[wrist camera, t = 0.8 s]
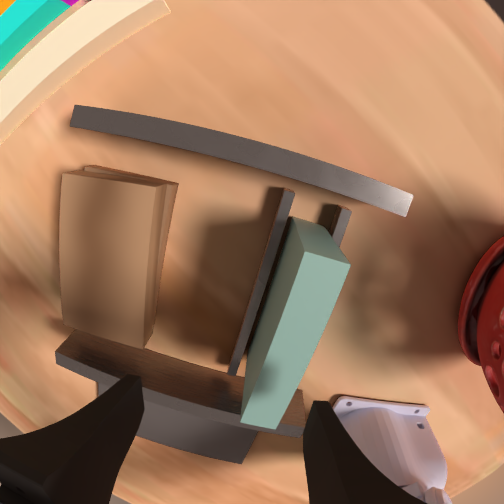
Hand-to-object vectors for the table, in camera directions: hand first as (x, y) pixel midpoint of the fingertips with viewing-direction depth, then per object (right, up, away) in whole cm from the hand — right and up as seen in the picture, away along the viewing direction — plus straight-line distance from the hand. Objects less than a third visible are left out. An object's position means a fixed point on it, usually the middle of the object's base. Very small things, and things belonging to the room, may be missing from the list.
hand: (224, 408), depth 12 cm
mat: (-5, -8, +13) cm, 16 cm away
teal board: (+3, +4, +9) cm, 10 cm away
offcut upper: (-8, +6, +7) cm, 12 cm away
